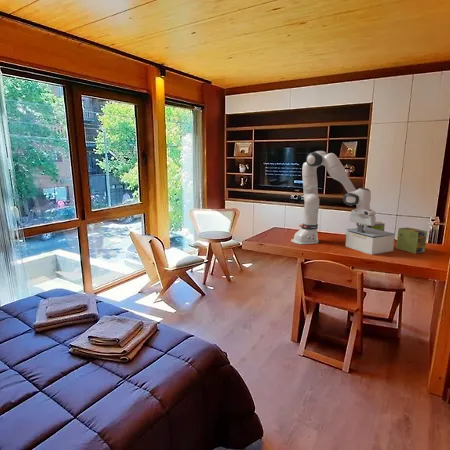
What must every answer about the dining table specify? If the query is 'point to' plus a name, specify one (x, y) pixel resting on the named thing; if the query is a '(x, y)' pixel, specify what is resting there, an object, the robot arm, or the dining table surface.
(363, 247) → the carton
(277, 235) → the dining table surface
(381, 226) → the tea box
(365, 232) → the flap
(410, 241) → the protein box
